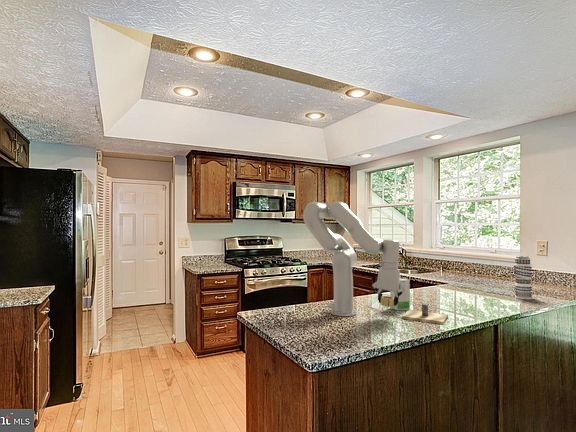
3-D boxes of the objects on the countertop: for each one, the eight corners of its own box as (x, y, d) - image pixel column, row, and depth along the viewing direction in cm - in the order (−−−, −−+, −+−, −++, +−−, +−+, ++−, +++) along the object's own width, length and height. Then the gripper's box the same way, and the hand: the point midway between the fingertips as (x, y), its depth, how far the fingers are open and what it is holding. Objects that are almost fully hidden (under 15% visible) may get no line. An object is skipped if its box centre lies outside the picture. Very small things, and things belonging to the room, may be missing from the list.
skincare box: (396, 310, 177) (396, 280, 177) (389, 307, 183) (389, 278, 183) (410, 309, 179) (410, 279, 179) (403, 306, 185) (402, 277, 186)
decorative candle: (517, 298, 204) (516, 256, 204) (512, 295, 212) (511, 255, 213) (535, 299, 201) (534, 257, 202) (529, 296, 210) (528, 255, 210)
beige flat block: (401, 318, 162) (401, 305, 162) (409, 312, 173) (409, 299, 174) (443, 324, 152) (442, 310, 152) (448, 317, 164) (448, 304, 164)
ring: (378, 304, 161) (379, 297, 161) (383, 302, 167) (383, 295, 167) (392, 307, 158) (393, 300, 158) (396, 304, 163) (397, 297, 163)
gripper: (369, 264, 164) (367, 301, 164) (406, 269, 154) (404, 308, 154) (374, 262, 170) (372, 299, 170) (410, 267, 161) (408, 305, 161)
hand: (387, 303), depth 162 cm, fingers closed on ring, 6 cm apart
